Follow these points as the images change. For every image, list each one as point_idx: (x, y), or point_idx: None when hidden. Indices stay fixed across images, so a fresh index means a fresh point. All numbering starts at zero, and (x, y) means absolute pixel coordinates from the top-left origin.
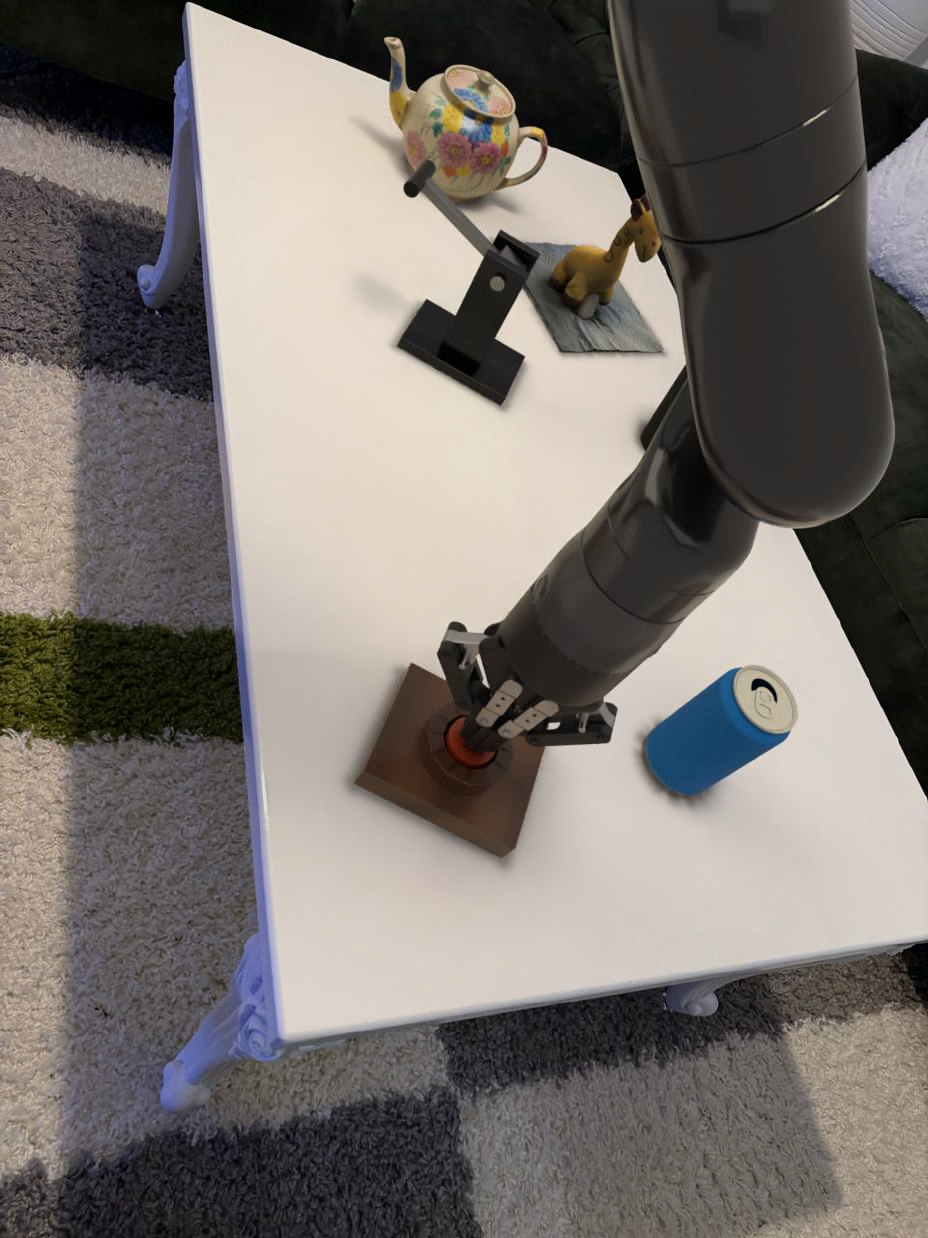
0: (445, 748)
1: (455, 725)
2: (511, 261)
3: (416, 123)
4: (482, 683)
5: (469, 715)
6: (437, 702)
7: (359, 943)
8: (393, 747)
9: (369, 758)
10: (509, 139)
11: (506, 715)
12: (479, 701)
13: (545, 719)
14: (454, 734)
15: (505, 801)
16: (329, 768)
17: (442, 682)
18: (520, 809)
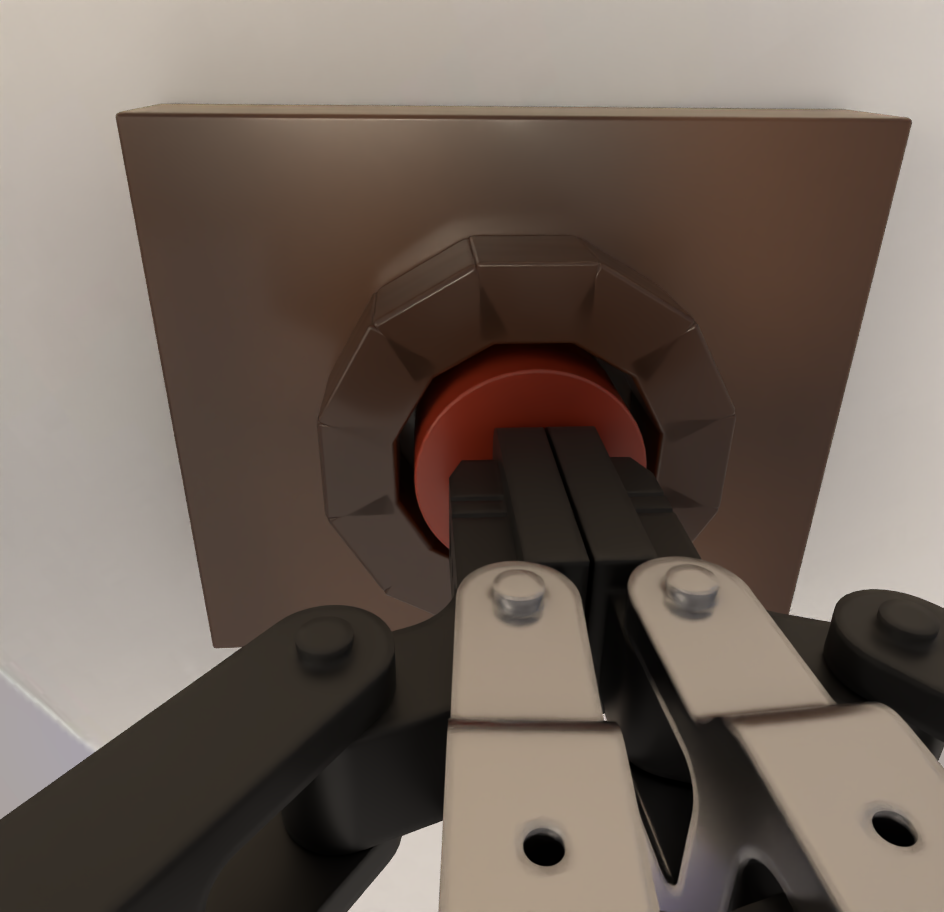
0: (429, 547)
1: (428, 464)
2: None
3: None
4: (387, 729)
5: (451, 538)
6: (333, 261)
7: (437, 850)
8: (261, 532)
9: (206, 604)
10: None
11: (636, 726)
12: (418, 829)
13: (929, 742)
14: (439, 502)
15: (730, 512)
16: (144, 576)
17: (310, 140)
18: (792, 509)
